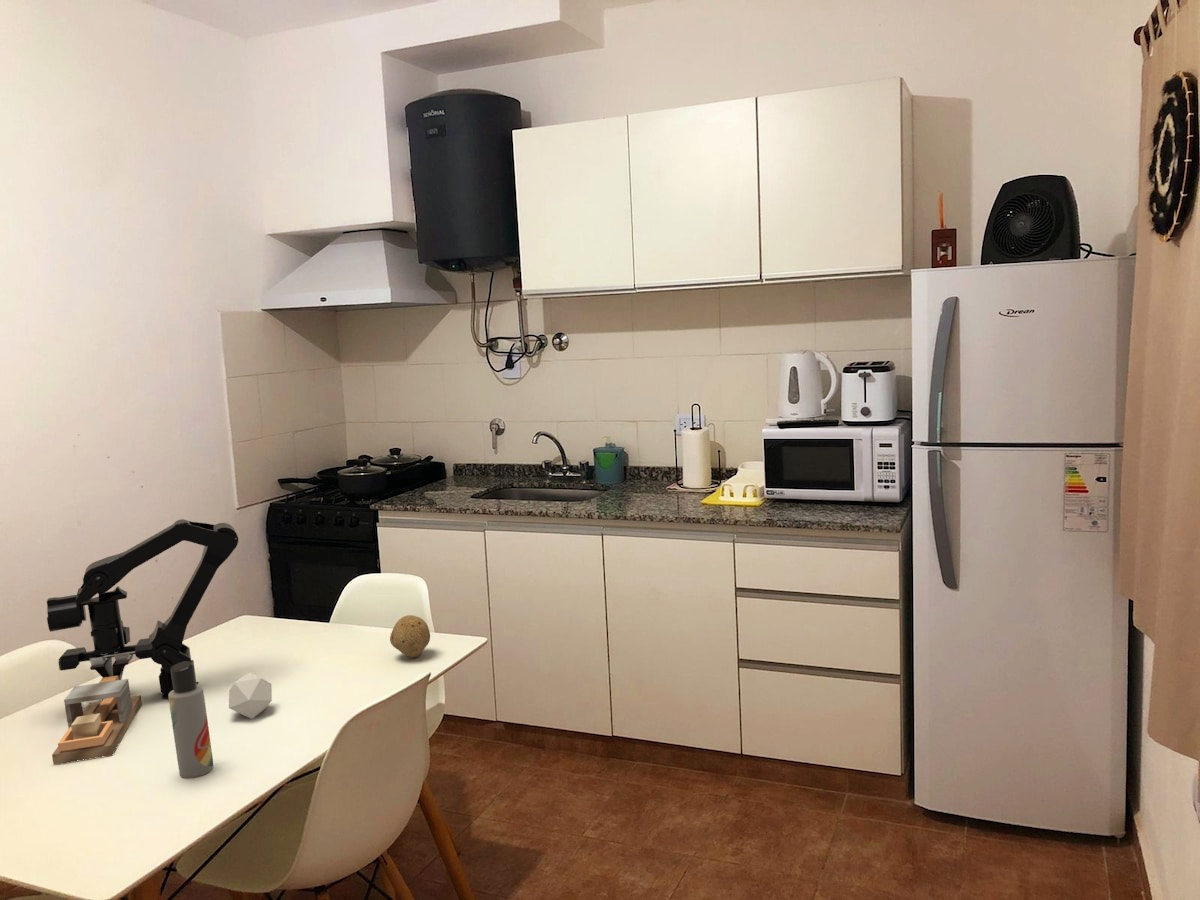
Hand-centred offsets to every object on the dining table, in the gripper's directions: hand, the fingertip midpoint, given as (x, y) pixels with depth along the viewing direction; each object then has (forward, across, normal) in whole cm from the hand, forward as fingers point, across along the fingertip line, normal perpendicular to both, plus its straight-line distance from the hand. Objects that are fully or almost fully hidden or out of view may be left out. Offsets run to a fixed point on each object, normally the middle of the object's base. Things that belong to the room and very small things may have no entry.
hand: (116, 691), depth 201 cm
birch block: (+1, 0, +22) cm, 22 cm away
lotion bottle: (+3, -22, +40) cm, 45 cm away
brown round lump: (+3, -62, -2) cm, 62 cm away
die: (+3, -29, +17) cm, 34 cm away
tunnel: (+3, 0, +14) cm, 14 cm away
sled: (+1, 0, +15) cm, 15 cm away
